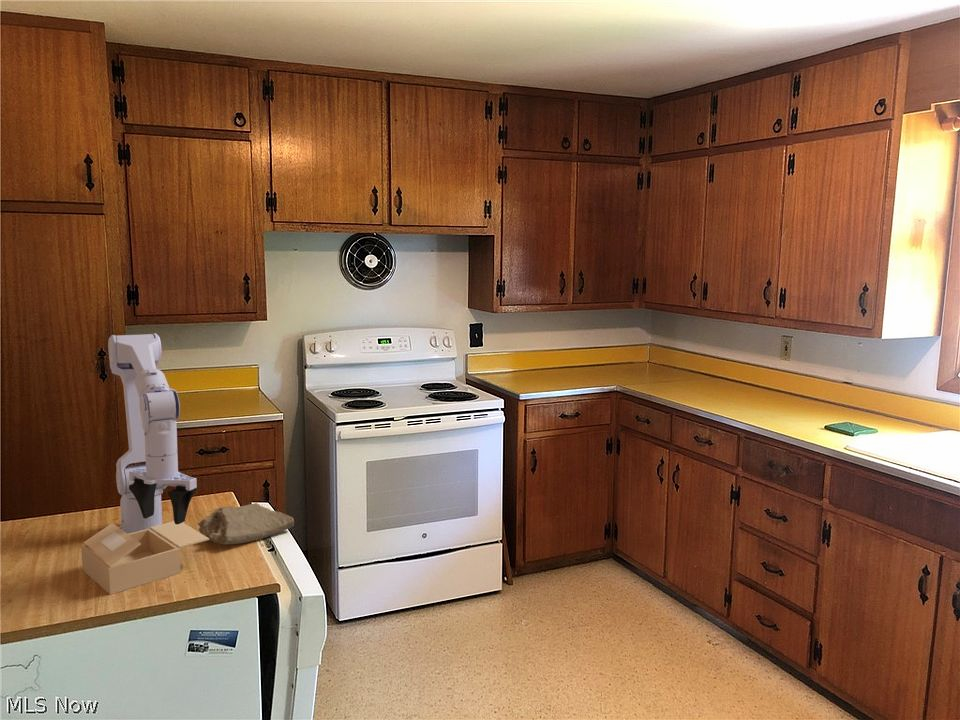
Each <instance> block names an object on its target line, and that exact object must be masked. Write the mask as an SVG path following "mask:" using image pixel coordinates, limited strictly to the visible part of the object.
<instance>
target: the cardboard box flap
mask: <svg viewBox="0 0 960 720" xmlns="http://www.w3.org/2000/svg"><path fill="white" fill-rule="evenodd" d="M83 545H87V546H88V547H89V548H90V549H92V550H93V551H94V552H95V553H97V554H98V555H99V556H100V557H102V558H103V559H104V560H105V561H106V562H108V563H109V564H110V565H111V566H112V565H113V564H115V563H116V562H117V561H119V560H120V559H122V558H123V557H124V556H126V555H127V554H129V553H130V552H131V551H133V550H134V549H135V548H137V547H138V546H140V545H141V543H140V542H138V541H137V540H135V539H134V538H133V537H131V536H130V535H128V534H127V533H126V532H124V531H123V530H121V529H120V528H119V526H117V525H116V524H114V523H113V522H112V523H110V524H109V525H107V526H105V528H103V529H101V530H99V531H98V532H96V533H95V534H93V536H91V537H89V538H88V539H87V540H85V541H83Z"/></svg>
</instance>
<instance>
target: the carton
mask: <svg viewBox="0 0 960 720" xmlns="http://www.w3.org/2000/svg"><path fill="white" fill-rule="evenodd" d="M151 529H152V530H151ZM154 531H155V532H154ZM157 533H158V534H157ZM128 535H130V536H131V537H133V538H134V539H135V540H137V541H138V542H140V543H141V545H140V546H138V547H137V548H135V549H134V550H133V551H131V552H130V553H129V554H127V555H126V556H124V557H123V558H122V559H120V560H119V561H117V562H116V563H115V564H113V565H112V566H111V565H110V564H109V563H108V562H106V561H105V560H104V559H103V558H102V557H100V556H99V555H98V554H97V553H95V552H94V551H93V550H92V549H90V548H89V547H88V546H87V545H85V544H83V545H81V546H80V549H81V564H82V571H83V572H84V573H85V574H86V575H88V577H90V578H91V579H92V580H93V581H94V582H95V583H97V584H98V585H99V586H100V587H101V588H102V589H103V590H104V591H105V592H107V593H108V595H110V596H111V595H114V594H117V593H120V592H124V591H127V590H130V589H133V588H137V587H139V586H143V585H146V584H149V583H152V582H156V581H158V580H162V579H165V578H168V577H173V576H174V575H179V574H181V573H182V569H181V568H182V566H181V565H182V564H181V549H182V548H186V547H189V546H192V545H197V544H199V543H202V542H206V541H210V539H209V538H208V537H206V536H204V535H203V534H201V532H200V531H199V530H196V529H195V528H193V527H191V526H189V525H188V524H186V523H184V522H182V523H180V524H178V525H177V524H175V522H174V520H173V521H169V522H166V523H162V524H161V525H157V526H153V527H150V528H149V529H145V530H141V531H137V532H134V533H130V534H128Z"/></svg>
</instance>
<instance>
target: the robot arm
mask: <svg viewBox="0 0 960 720" xmlns="http://www.w3.org/2000/svg"><path fill="white" fill-rule="evenodd" d="M107 343H108V344H107V347H108V348H107V349H108V350H107V351H108V359H109V369H110V371H111V374H113V375H116V376H119V377H120V379H121V383H122V386H123V397H124V398H123V399H124V407H125V408H124V409H125V419H126V420H125V421H126V431H127V441H128V450H127V451H126V452H125V453H124V454H123V455H122V456H120V457H119V458H118V460H117V461H116V463H115V466H116V467H115V468H116V470H115V471H116V472H115V480H116V481H115V482H116V487H117V492H118V493H119V495H121V498H120V501H119V502H120V503H119V506H120V507H119V508H120V524H121V525H120V526H118V527H119V528H120V529H121V530H123V531H124V532H126V533H127V534H130V533H134V532H137V531H141V530H145V529H149V528H150V527H153V526H157V525H161V524H163V515H162V514H163V509H162V494H163V493H164V490H165V489H166V488H167V487H175V488H174V489H172V490H169V491H167V496H168V497H169V499H170V502H171V503H170V504H171V506H172V515H173V521H174V522H175V524H177V525H178V524H180V523H182V522H183V523H184V522H185V521H186V518H187V514H188V510H189V507H190V503H191V501H192V499H193V496H194V495H195V493H196V491H197V486H198V485H197V482H198V480H197V477H192V476H189V475H186V474H185V473H182V472H180V471H179V459H178V457H179V456H178V431H177V430H178V428H177V427H178V425H177V420H179V418H180V415H181V403H180V398H179V395H178V391H177V390H176V389H174V388H170V385H169V383H168V381H167V378H166V376H165V373H164V372H163V371H162V370H160V369H159V368H158V365H159V364H160V360H161V358H162V350H163V349H162V341H161V338H160V336H159V335H158V334H157V333H155V332H154V333H147V334H143V333H142V334H122V335H121V334H120V335H115V334H112V335H110V336H109V338H108V342H107ZM157 368H158V369H157ZM136 463H141V464H136ZM130 464H133V465H130ZM151 530H152V529H151ZM154 532H155V531H154ZM157 534H158V533H157Z"/></svg>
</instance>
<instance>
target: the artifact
mask: <svg viewBox="0 0 960 720" xmlns="http://www.w3.org/2000/svg"><path fill="white" fill-rule="evenodd" d="M196 525H198V526H199V528H198V532H199V533H201V534H203V535H204V536H206V537H208V538H209V541H211V542H213V543H217V544H221V545H237V544H239V545H240V544H244V543H245V542H246V543H251V542H255V541H258V540H261V539H262V540H263V539H265V538H267V537H271V536H273V535H277V534H279V533H281V532H284V531H287V530H288V529H291V528H292V527H294V526H295V521H294V517H293V516H291V515H288V514H286V513H284V512H281V511H276V510H271V509H270V508H268V507H265V506H262V505H261V504H259V503H258V502H255V503H250V504H246V505H242V506H241V505H240V506H236V507H234V506H221V507H218V508H215V509H214V510H213V512H211V513H210V514H209V515H207V516H206V517H205V518H202V520H201V521H198V522H197V524H196ZM246 543H245V544H246Z"/></svg>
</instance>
